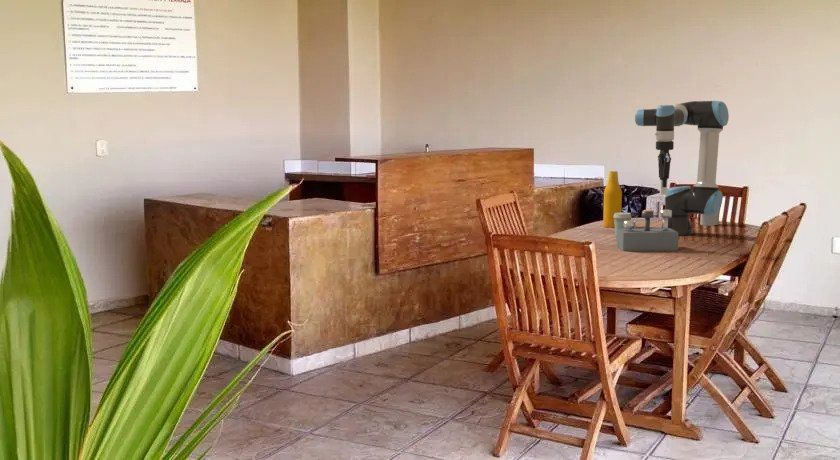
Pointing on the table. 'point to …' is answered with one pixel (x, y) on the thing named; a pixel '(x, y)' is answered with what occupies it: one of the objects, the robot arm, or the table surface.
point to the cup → (709, 219)
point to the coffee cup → (621, 220)
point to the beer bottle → (612, 199)
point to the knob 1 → (629, 225)
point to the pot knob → (647, 218)
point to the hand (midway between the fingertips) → (663, 194)
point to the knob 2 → (665, 218)
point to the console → (647, 240)
